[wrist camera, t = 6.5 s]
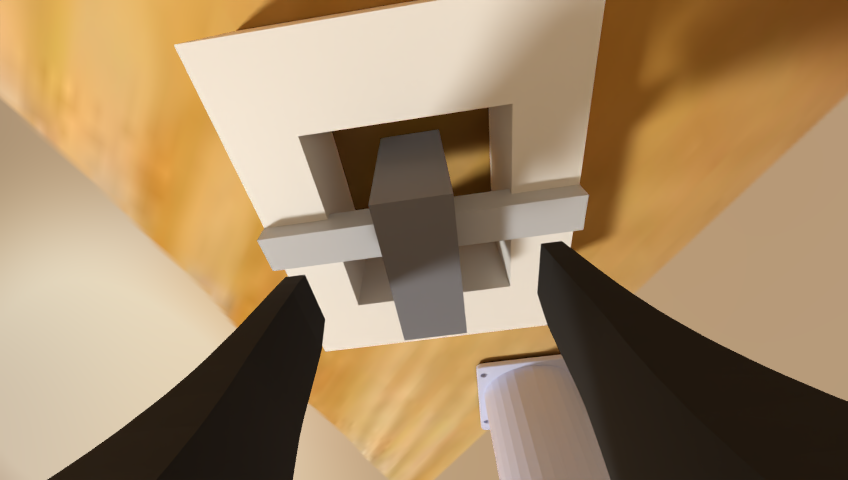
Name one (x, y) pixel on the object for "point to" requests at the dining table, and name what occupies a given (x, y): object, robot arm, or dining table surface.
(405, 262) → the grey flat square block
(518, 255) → the shallow white tray
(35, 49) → the dining table surface
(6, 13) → the dining table surface
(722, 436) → the robot arm
